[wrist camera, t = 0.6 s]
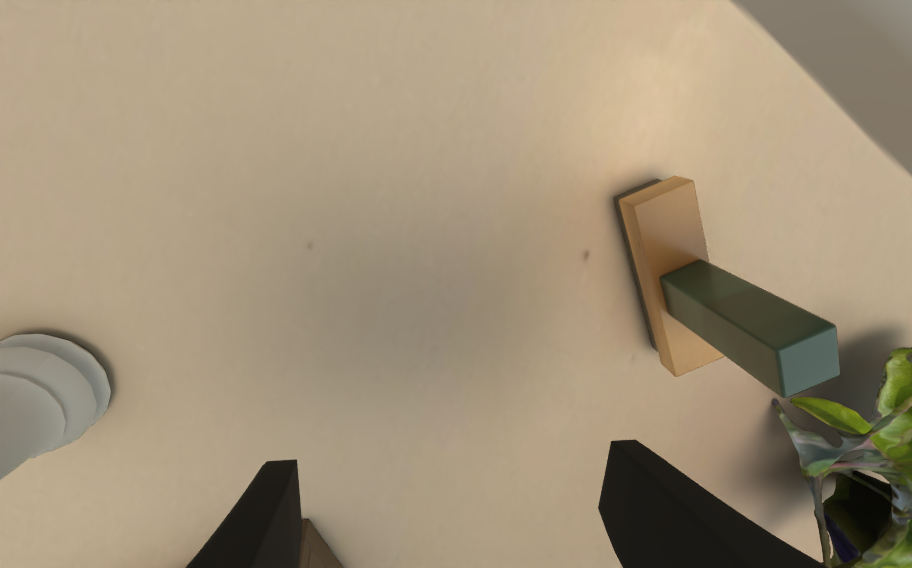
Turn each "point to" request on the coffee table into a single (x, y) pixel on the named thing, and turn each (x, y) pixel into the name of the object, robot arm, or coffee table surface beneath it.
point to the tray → (315, 550)
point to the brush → (714, 299)
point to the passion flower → (856, 494)
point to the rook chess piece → (46, 396)
